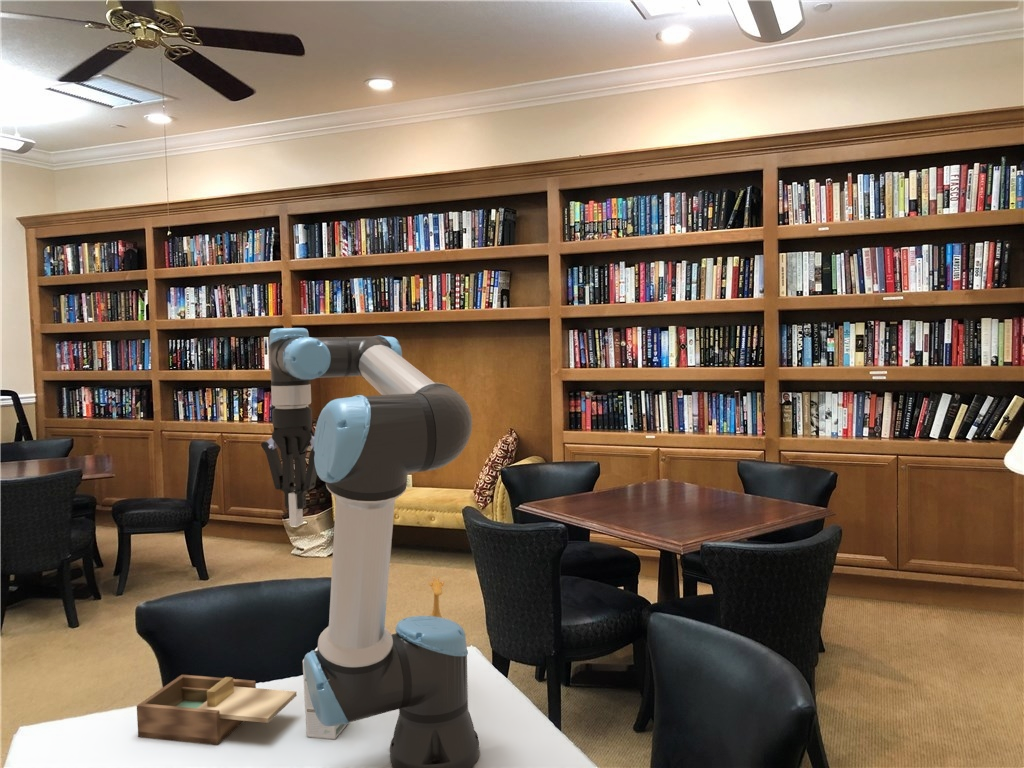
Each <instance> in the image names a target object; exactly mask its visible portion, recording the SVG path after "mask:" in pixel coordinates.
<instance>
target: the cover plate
mask: <svg viewBox="0 0 1024 768" xmlns="http://www.w3.org/2000/svg"><path fill="white" fill-rule="evenodd" d="M223 678H224V679H222V680H221V681H220V682H218V683H217V684H216V685H214V686H213V687H212V688H210V689H209V690H208V691H207V701H206V702H205V703H203V704H202V705H201V706H199V707H198V709H209V710H219V711H220V718H222V719H232V720H243V721H244V722H257V723H266V724H269V723H270V722H271V721H272V719H274V718H275V717H276V716H277V715H278V714H279V713H280V712H282V710H283V709H284V708H285V707H286V706H287V705H288V704H290V702H292V701H293V700H294V699H295V698H296V697H297V691H294V690H284V689H283V690H282V689H268V688H257V687H256V688H248V687H237V686H234V685H233V679H234V677H231V676H225V677H223Z"/></svg>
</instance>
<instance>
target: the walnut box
mask: <svg viewBox="0 0 1024 768" xmlns="http://www.w3.org/2000/svg"><path fill="white" fill-rule="evenodd" d="M224 678H225V677H215V676H204V675H190V674H181V675H179V676H177V677H176V678H175V679H173V680H171V681H170V682H169V683H167V684H166V685H164V686H163V687H162V688H160V689H159V690H157V691H156V692H155V693H153V694H151V695H150V696H148V698H146V699H145V700H143V701H141V702H140V703H138V704H137V705H136V719H137V720H136V721H137V722H136V723H137V737H138V738H146V739H157V740H166V741H176V742H184V743H194V744H195V743H196V744H203V745H214V746H218V745H219V744H220V743H222V742H224V740H225V739H227V737H229V736H230V735H231V734H232V733H233V732H234V731H235V730H236V729H237V728H239V726H241V725H242V724H243V723H244V722H245V721H243V720H232V719H222V718H220V711H219V710H209V709H198V707H199V706H201V705H202V704H203V703H205V702H206V701H207V691H208V690H209V689H210V688H212V687H213V686H214V685H216V684H217V683H218V682H220V681H221V680H222V679H224ZM233 685H234V686H237V687H248V688H257V687H256V685H257V684H256V680H249V679H239V678H236V679H235V678H233Z"/></svg>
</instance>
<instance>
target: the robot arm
mask: <svg viewBox="0 0 1024 768" xmlns="http://www.w3.org/2000/svg"><path fill="white" fill-rule="evenodd" d="M268 341H269V342H268V350H269V359H270V360H269V362H270V363H269V365H270V381H271V382H270V383H271V384H270V389H271V393H270V395H271V396H270V397H271V405H272V406H273V407H274V408H272V411H271V414H272V415H271V416H272V420H271V421H272V427H273V431H272V433H271V437H270V438H269V439H267V440H266V441H263V442H261V445H260V447H261V448H262V450H263V451H264V453H265V456H266V458H267V459H266V460H267V462H268V467H269V470H270V473H271V478H272V481H273V485H274V488H275V490H279V491H281V492H283V493H284V507H285V509H288V516H289V517H288V518H289V527H298V526H301V525H303V524H304V512H303V511H304V510H303V509H305V508H306V507H307V492H308V491H309V490H311V489H314V488H315V486H316V481H317V476H318V478H319V479H320V480H321V481H323V482H325V486H326V490H328V492H329V493H331V494H332V495H333V496H334V497H335V508H334V509H335V510H334V526H333V529H334V530H333V531H334V532H333V543H332V544H333V545H332V563H331V567H332V568H331V582H330V597H329V599H330V600H329V601H330V602H329V616H328V617H329V618H328V620H329V621H328V626H327V627H326V628H324V629H323V631H322V632H320V635H319V636H318V639H317V647H318V650H317V651H314V650H315V649H314V650H313V649H312V650H311V651H310V652H309V651H308V652H307V653H306V654H305V655H304V658H303V660H304V669H305V676H306V681H307V686H308V690H309V695H310V698H311V702H312V705H313V708H314V711H315V713H316V716H317V718H318V719H319V721H320V722H321V723H322V724H323V725H325V726H335V725H341V724H347V725H348V724H350V723H353V722H357V721H360V720H364V719H368V718H372V717H375V716H377V715H381V714H382V715H383V714H385V713H387V712H389V713H390V712H392V711H396V710H398V717H397V720H396V724H395V727H394V732H393V736H392V738H391V741H390V745H389V763H390V765H391V767H392V768H472V767H473V766H475V764H476V763H477V762H478V760H479V758H480V739H479V736H478V733H477V732H476V730H475V726H474V722H473V719H472V717H471V714H470V711H469V710H470V709H469V701H468V698H469V695H468V694H469V693H468V692H469V691H468V689H469V686H468V683H469V682H468V654H469V650H468V649H467V648H468V647H467V636H466V632H465V630H464V628H463V627H462V626H461V625H460V624H459V623H458V622H456V621H454V620H451V619H450V618H445V617H442V616H441V617H442V618H441V617H434V616H430V615H415V616H414V615H413V616H407V617H405V618H402V619H401V620H399V621H398V622H397V624H396V627H395V633H392V634H391V631H390V630H389V629H388V628H387V627H385V625H386V617H387V616H386V615H387V613H386V612H387V605H388V604H387V601H388V591H389V577H390V576H389V575H390V566H391V565H390V564H391V553H392V539H393V529H394V518H395V517H394V515H395V505H396V503H395V502H396V500H397V499H398V498H399V497H401V496H402V495H403V494H404V493H405V492H406V491H407V486H408V485H407V484H408V483H407V482H408V475H409V474H414V473H421V472H427V471H435V470H438V469H441V468H443V467H446V466H447V465H449V464H450V463H451V462H453V461H454V460H456V459H457V458H458V457H459V456H460V455H461V454H462V453H463V451H464V450H465V449H466V446H467V445H468V443H469V441H470V438H471V436H472V435H471V434H472V430H473V416H472V412H471V408H470V407H469V405H468V402H467V401H466V400H465V399H464V397H463V396H462V395H461V394H459V393H458V391H456V390H455V389H453V388H452V387H451V386H450V385H448V384H445V383H441V382H434V381H433V380H432V379H431V378H429V377H428V376H427V375H425V374H424V373H423V372H422V371H420V370H419V369H418V368H416V367H415V366H414V365H412V364H411V362H409V361H408V360H406V359H405V358H404V357H403V350H402V346H401V345H400V342H399V340H398V339H397V338H396V337H393V336H384V335H374V336H373V335H372V336H342V337H341V336H340V337H339V336H336V337H335V336H334V337H333V336H332V337H331V336H330V337H327V336H326V337H323V336H322V337H310V334H309V331H308V329H307V328H304V327H293V328H292V327H289V328H288V327H282V328H281V327H280V328H272V329H270V332H269V340H268ZM341 377H342V378H345V377H362V378H363V379H364V380H366V381H367V382H368V384H370V385H371V386H372V387H373V388H374V389H375V391H377V392H378V393H379V395H363V394H358V395H353V396H350V397H342V398H341V397H340V398H339V397H338V398H335V399H332V400H330V401H329V402H328V403H326V405H325V406H324V407H323V408H322V409H321V412H320V413H319V416H318V419H317V421H316V426H315V430H314V431H313V429H312V428H313V412H312V410H313V408H311V406H309V405H311V403H312V389H311V388H312V387H311V385H312V384H311V380H315V379H319V378H321V379H322V378H341ZM277 447H278V449H279V450H280V454H279V451H278V449H277ZM309 447H310V449H311V450H310V452H309V457H308V463H306V462H307V461H306V457H307V454H308V453H307V450H308V448H309Z"/></svg>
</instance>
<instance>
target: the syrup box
mask: <svg viewBox="0 0 1024 768" xmlns="http://www.w3.org/2000/svg"><path fill="white" fill-rule="evenodd" d="M317 650H318V646H317V647H316V648H315V649H314V651H317ZM302 673H303V674H302V679H303V692H304V693H303V695H304V698H303V699H304V712H305V728H306V729H305V732H306V737H309V738H315V739H326V740H336V739H337V737H338V736H339V735H340V734H341V732H342V731H344V729H345V728H346V727H347V725H348V724H341V725H335V726H325V725H323V724H322V723H321V722H320V721H319V719H318V718H317V716H316V713H315V711H314V708H313V705H312V702H311V698H310V695H309V690H308V686H307V681H306V676H305V669H304V659H302Z"/></svg>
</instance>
